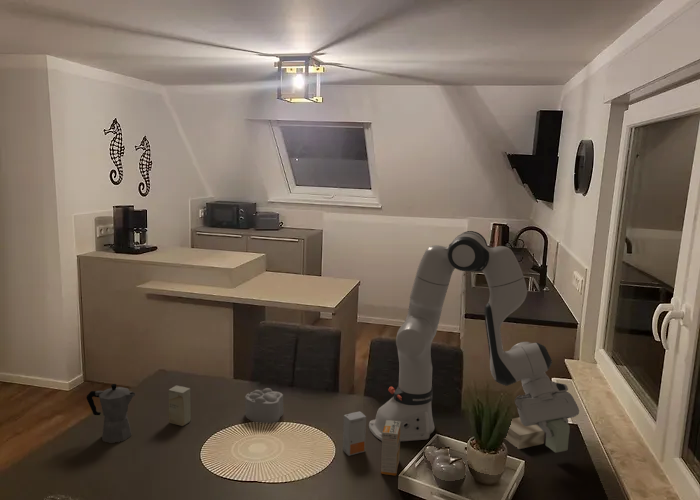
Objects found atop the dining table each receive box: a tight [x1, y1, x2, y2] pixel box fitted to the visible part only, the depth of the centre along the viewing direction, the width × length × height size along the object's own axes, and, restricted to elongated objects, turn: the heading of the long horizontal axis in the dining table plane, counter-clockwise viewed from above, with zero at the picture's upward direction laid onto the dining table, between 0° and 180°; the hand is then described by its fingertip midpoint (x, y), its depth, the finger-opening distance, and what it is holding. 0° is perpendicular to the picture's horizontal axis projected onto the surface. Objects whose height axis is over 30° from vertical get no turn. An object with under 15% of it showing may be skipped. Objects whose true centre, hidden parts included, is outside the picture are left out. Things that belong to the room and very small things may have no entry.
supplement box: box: [380, 420, 401, 476], centre depth 158 cm, size 8×5×13 cm, turn 168°
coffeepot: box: [86, 383, 136, 444], centre depth 173 cm, size 15×9×18 cm, turn 92°
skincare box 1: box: [168, 384, 192, 427], centre depth 184 cm, size 6×4×12 cm
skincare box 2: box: [342, 410, 367, 457], centre depth 167 cm, size 6×4×12 cm
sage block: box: [544, 419, 571, 454], centre depth 164 cm, size 4×4×8 cm
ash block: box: [504, 417, 546, 450], centre depth 177 cm, size 10×10×5 cm
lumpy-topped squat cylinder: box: [244, 387, 284, 424], centre depth 190 cm, size 10×13×9 cm
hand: (559, 435), depth 163 cm, fingers closed on sage block, 4 cm apart
